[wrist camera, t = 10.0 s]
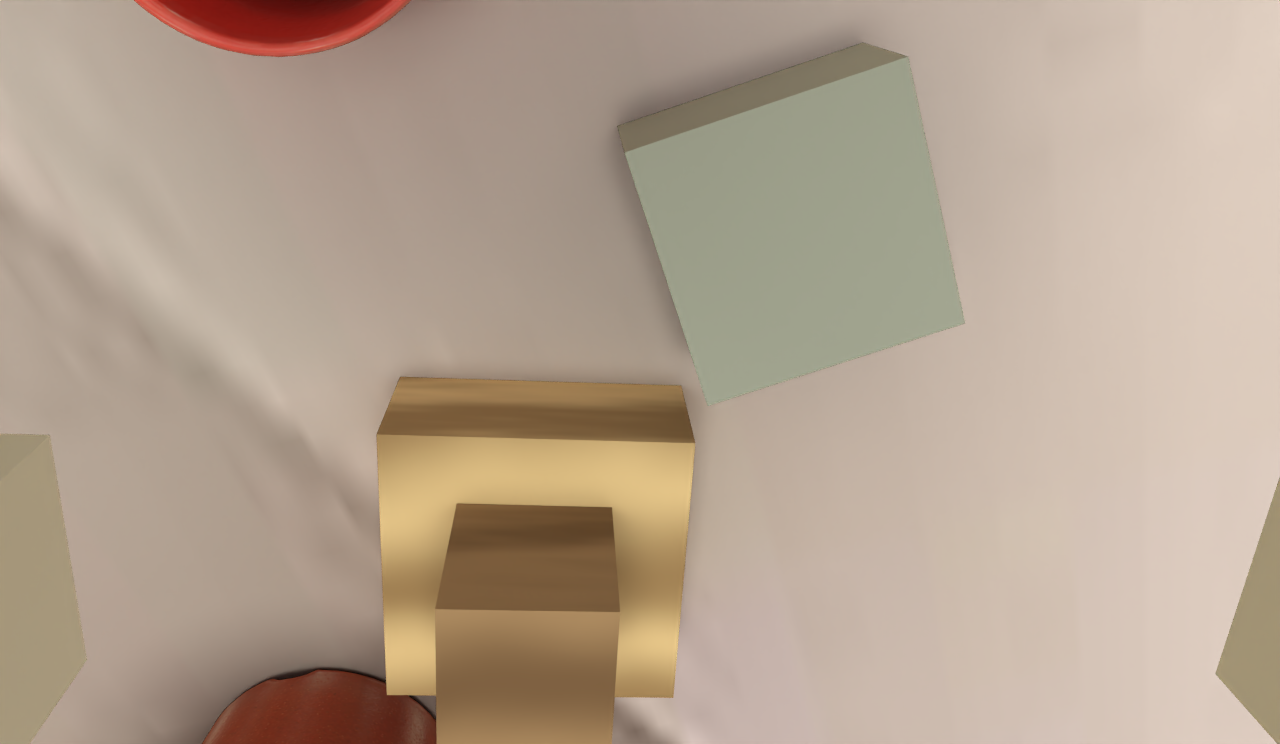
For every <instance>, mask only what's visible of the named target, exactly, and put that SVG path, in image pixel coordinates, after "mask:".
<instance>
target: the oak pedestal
mask: <svg viewBox="0 0 1280 744" xmlns="http://www.w3.org/2000/svg"><path fill="white" fill-rule="evenodd" d="M694 452H695V440H694V436H693V432H692V428H691V424H690V420H689V416H688V412H687V408H686V403H685V399H684V395H683V391H682V387H681V386H678V385H646V384H613V383H581V382H549V381H516V380H484V379H452V378H419V377H400V379H399V381H398V383H397V386H396V388H395V391H394V393H393V396H392V398H391V401H390V403H389V405H388V408H387V410H386V413H385V415H384V418H383V420H382V422H381V425H380V427H379V430H378V432H377V458H378V484H379V509H380V535H381V560H382V586H383V611H384V636H385V662H386V687H387V695H436V648H435V607H436V602H437V597H438V592H439V588H440V583H441V578H442V573H443V568H444V563H445V558H446V553H447V548H448V544H449V539H450V534H451V529H452V524H453V519H454V514H455V509H456V504H497V505H539V506H580V507H612V514H613V527H614V540H615V552H616V565H617V578H618V591H619V604H620V622H619V637H618V653H617V668H616V683H615V697H664V698H673V694H674V683H675V671H676V660H677V648H678V637H679V625H680V613H681V602H682V590H683V579H684V567H685V556H686V544H687V533H688V521H689V510H690V498H691V487H692V475H693V464H694Z"/></svg>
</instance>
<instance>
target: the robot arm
mask: <svg viewBox="0 0 1280 744" xmlns="http://www.w3.org/2000/svg"><path fill="white" fill-rule="evenodd" d="M86 661H87V658H86V652H85V645H84V639H83V633H82V627H81V621H80V615H79V609H78V603H77V597H76V591H75V585H74V579H73V573H72V567H71V561H70V555H69V549H68V542H67V536H66V530H65V524H64V518H63V512H62V506H61V500H60V494H59V488H58V482H57V476H56V470H55V464H54V458H53V452H52V446H51V439H50V435H31V434H0V744H30V742H31V741H32V740H33V738H34V737H35V735H36V734H37V732H38V731H39V729H40V728H41V726H42V725H43V723H44V722H45V721H46V719H47V718H48V716H49V715H50V713H51V712H52V710H53V709H54V707H55V706H56V704H57V703H58V702H59V700H60V699H61V697H62V696H63V694H64V693H65V691H66V690H67V688H68V687H69V685H70V684H71V682H72V681H73V680H74V678H75V677H76V675H77V674H78V672H79V671H80V669H81V668H82V666H83V665H84V663H85V662H86ZM1216 675H1217V676H1218V677H1219V679H1220V680H1221V681H1222V682H1223V683H1224V684H1225V685H1226V686H1227V688H1228V689H1229V690H1230V691H1231V692H1232V693H1233V694H1234V695H1235V697H1236V698H1237V699H1238V700H1239V701H1240V702H1241V703H1242V704H1243V706H1244V707H1245V708H1246V709H1247V710H1248V711H1249V712H1250V713H1251V715H1252V716H1253V717H1254V718H1255V719H1256V720H1257V721H1258V722H1259V724H1260V725H1261V726H1262V727H1263V728H1264V729H1265V730H1266V731H1267V733H1268V734H1269V735H1270V736H1271V737H1272V738H1273V739H1274V740H1275V742H1276V743H1277V744H1280V478H1279V481H1278V484H1277V487H1276V490H1275V493H1274V496H1273V499H1272V502H1271V505H1270V509H1269V512H1268V515H1267V518H1266V521H1265V524H1264V527H1263V530H1262V533H1261V536H1260V539H1259V542H1258V545H1257V548H1256V551H1255V554H1254V557H1253V561H1252V564H1251V567H1250V570H1249V573H1248V576H1247V579H1246V582H1245V585H1244V588H1243V591H1242V594H1241V597H1240V600H1239V603H1238V606H1237V609H1236V613H1235V616H1234V619H1233V622H1232V625H1231V628H1230V631H1229V634H1228V637H1227V640H1226V643H1225V646H1224V649H1223V652H1222V655H1221V658H1220V661H1219V665H1218V668H1217V671H1216Z"/></svg>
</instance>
